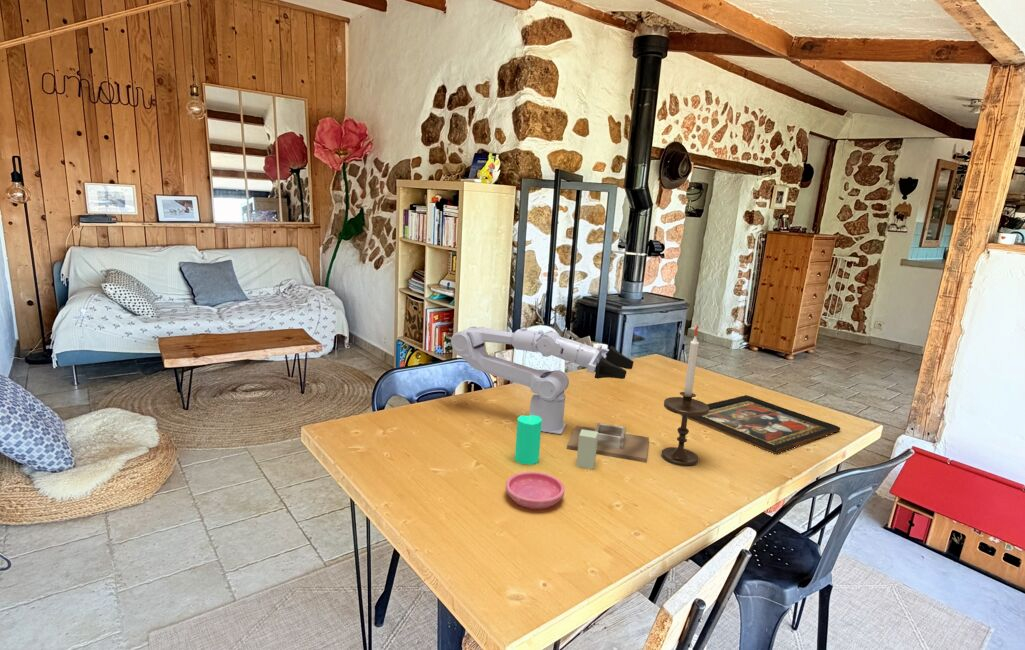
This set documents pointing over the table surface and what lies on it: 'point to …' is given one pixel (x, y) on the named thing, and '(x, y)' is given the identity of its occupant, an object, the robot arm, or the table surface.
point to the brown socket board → (614, 442)
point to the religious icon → (763, 424)
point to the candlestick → (685, 412)
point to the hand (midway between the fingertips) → (629, 370)
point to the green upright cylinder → (528, 439)
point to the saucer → (535, 489)
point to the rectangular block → (587, 449)
